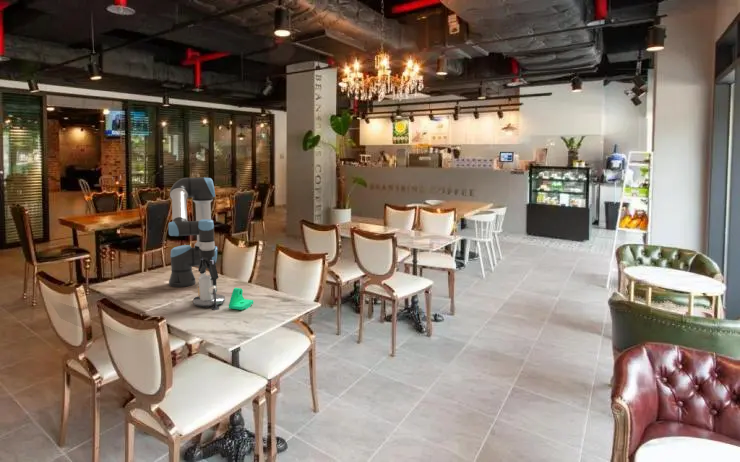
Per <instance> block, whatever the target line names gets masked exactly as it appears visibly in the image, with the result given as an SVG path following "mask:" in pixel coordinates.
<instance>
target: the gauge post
mask: <svg viewBox="0 0 740 462" xmlns="http://www.w3.org/2000/svg"><path fill="white" fill-rule="evenodd" d="M217 292H218V287H217V288H216V287H215V286H210V287H209V289H208V293H209V294H211V295H214V307H210V308H211V310H213V311H217V310H220V307H219V306H217V304H216V294H217Z"/></svg>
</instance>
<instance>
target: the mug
mask: <svg viewBox="0 0 740 462" xmlns="http://www.w3.org/2000/svg"><path fill="white" fill-rule="evenodd" d="M210 279H211V276H210V274H209V275H208V274H206V276H200V275H199V276H198V287H199V291H200V300H202V301H207V300H211V299H212V298H213V295H211V294H209V293H208V289H209V287H210V286H211V280H210Z"/></svg>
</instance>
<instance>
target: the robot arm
mask: <svg viewBox="0 0 740 462" xmlns="http://www.w3.org/2000/svg"><path fill="white" fill-rule="evenodd" d="M169 197H170V199H171V209H172V211H171V213H172V214H171V215H172V216H171V217H172V219H171V220H172V221H170V222H168V224H167V225H168V235H169V236H170V237H183V236H185V237H186V236H196V242H195V243H194V247H192V246H191V245H190V244H187V245H186V244H184V245H178V246H175V247H173V248H172V249H170V257H169V258H170V265H171V266H170V269H171V273H170V277H169V281H168V286H170V287H172V288H184V287H191V286H194V285H196V282H197V280H196V277H195V274H194V272H193V268H194V267H198V272H199V274H200V275H199V277H200V276H206V275H207V274H206V273H207V269H208V273H209V276H211V279H210V280H211V286H215V287H216V288H217V289H218V287H217V286H218V285H217V283H218V282H217V280H218V279H219V274H218V269H217V266H216V263H217V258H218V246H216V244H215V224H214V220H213V219H212V212H211V209H212V208H211V206H212V205H211V203H212V202H213V200H214V198H215V197H216V191H215V186H214V181H213V179H212V178H211V177H183V178H180V179H178V180H177V181H176V182H174V183H173V185H172V187H170V191H169ZM188 198H192V201H193V203H194V204H195V220H192V221H189V220H188V210H187V209H188V208H187V199H188Z"/></svg>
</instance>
